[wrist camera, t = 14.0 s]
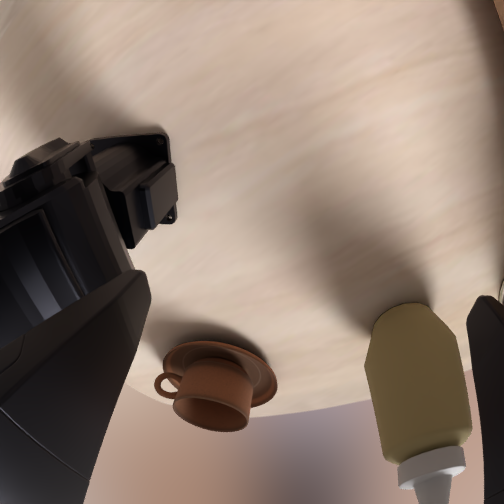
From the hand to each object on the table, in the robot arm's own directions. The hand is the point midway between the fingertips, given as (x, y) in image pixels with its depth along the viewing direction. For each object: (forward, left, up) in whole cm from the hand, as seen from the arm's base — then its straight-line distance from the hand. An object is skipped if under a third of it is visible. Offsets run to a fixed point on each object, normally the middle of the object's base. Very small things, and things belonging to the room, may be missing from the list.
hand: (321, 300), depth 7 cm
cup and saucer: (-7, -22, -13) cm, 27 cm away
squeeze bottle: (+10, -14, -13) cm, 22 cm away
